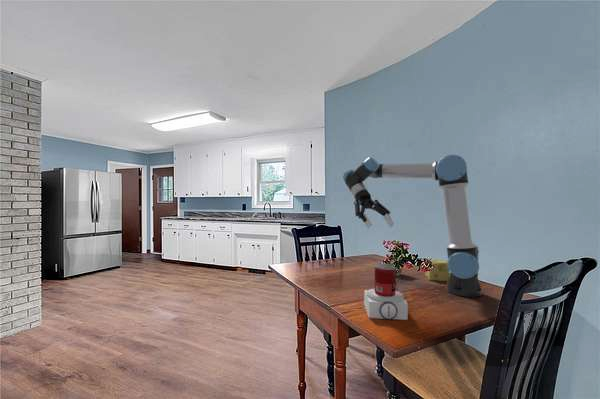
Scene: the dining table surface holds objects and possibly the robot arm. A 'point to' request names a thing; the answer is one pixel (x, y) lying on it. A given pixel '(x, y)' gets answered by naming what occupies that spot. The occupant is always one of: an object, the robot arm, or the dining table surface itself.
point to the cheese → (438, 271)
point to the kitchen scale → (385, 305)
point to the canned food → (385, 280)
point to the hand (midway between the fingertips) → (381, 226)
